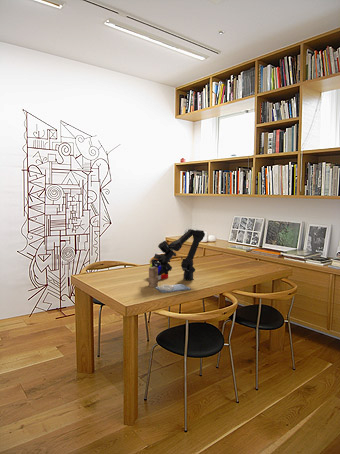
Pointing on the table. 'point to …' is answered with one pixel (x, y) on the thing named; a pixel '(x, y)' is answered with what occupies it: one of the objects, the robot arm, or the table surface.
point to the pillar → (153, 276)
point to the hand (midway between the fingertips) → (154, 274)
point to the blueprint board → (176, 287)
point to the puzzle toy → (162, 276)
